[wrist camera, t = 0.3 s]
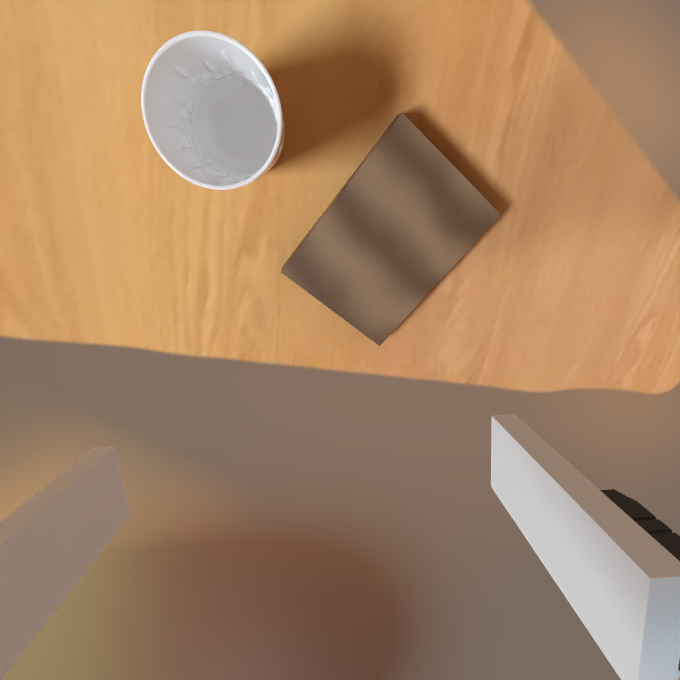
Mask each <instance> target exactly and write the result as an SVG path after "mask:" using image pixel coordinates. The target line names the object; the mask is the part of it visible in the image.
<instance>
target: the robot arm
mask: <svg viewBox="0 0 680 680" xmlns="http://www.w3.org/2000/svg"><path fill="white" fill-rule="evenodd" d="M491 443H492V444H491V449H492V450H491V487H492V488H493V490H494V491H495V493H496V494H497V496H498V497H499V498H500V500H501V502H502V503H503V505H504V506H505V508H506V509H507V511H508V512H509V514H510V515H511V517H512V518H513V520H514V521H515V523H516V524H517V526H518V527H519V528H520V530H521V531H522V533H523V534H524V536H525V537H526V539H527V540H528V542H529V543H530V545H531V546H532V548H533V549H534V551H535V552H536V554H537V555H538V557H539V558H540V560H541V561H542V563H543V564H544V566H545V567H546V568H547V570H548V572H549V573H550V575H551V576H552V578H553V579H554V580H555V582H556V583H557V585H558V586H559V588H560V589H561V591H562V592H563V594H564V595H565V597H566V598H567V600H568V601H569V603H570V604H571V606H572V607H573V609H574V610H575V612H576V613H577V615H578V616H579V617H580V619H581V621H582V622H583V624H584V625H585V626H586V628H587V629H588V631H589V632H590V634H591V635H592V637H593V638H594V640H595V641H596V643H597V644H598V646H599V647H600V648H601V650H602V652H603V653H604V655H605V656H606V658H607V659H608V661H609V662H610V664H611V665H612V667H613V668H614V669H615V671H616V672H617V674H618V675H619V677H620V678H621V680H679V674H680V536H679V535H677V534H676V533H672V531H671V529H670V528H669V527H668V526H666V525H665V524H664V523H662V522H661V521H660V520H657V519H656V518H655V516H654V515H653V514H651V513H650V512H649V511H648V510H647V509H646V508H644V507H643V506H642V505H641V504H639V503H638V502H637V501H635V500H633V499H631V498H629V497H627V496H625V495H623V494H621V493H619V492H617V491H616V490H613V489H612V490H599V489H598V488H597V487H595V486H594V485H593V484H592V483H591V482H590V481H589V480H587V479H586V478H585V477H584V476H583V475H582V474H581V473H580V472H578V470H576V469H575V468H574V467H573V466H572V465H571V464H569V463H568V462H567V461H566V460H565V459H564V458H563V457H562V456H561V455H560V454H558V453H557V452H556V451H555V450H554V449H553V448H552V447H551V446H549V445H548V444H547V443H546V442H545V441H544V440H543V439H541V438H540V437H539V436H538V435H537V434H536V433H535V432H534V431H533V430H531V429H530V428H529V427H528V426H527V425H526V424H525V423H524V422H522V421H521V420H520V419H519V418H518V417H517V416H516V415H515V414H507V415H495V416H492V442H491ZM130 516H131V513H130V509H129V505H128V501H127V497H126V492H125V488H124V484H123V480H122V475H121V471H120V467H119V463H118V459H117V455H116V450H115V447H114V446H112V447H100V448H92V449H91V450H90V451H89V452H87V453H86V454H85V455H84V456H82V457H81V458H80V459H78V460H77V461H76V462H75V463H73V464H72V465H71V466H70V467H68V468H67V469H66V470H65V471H63V472H62V473H61V474H60V475H58V476H57V477H56V478H54V479H53V480H52V481H51V482H49V483H48V484H47V485H46V486H44V487H43V488H42V489H41V490H39V491H38V492H37V493H36V494H34V495H33V496H32V497H31V498H29V499H28V500H27V501H26V502H24V503H23V504H22V505H21V506H19V507H18V508H17V509H16V510H14V511H13V512H12V513H11V514H9V515H8V516H7V517H5V518H4V519H3V520H2V521H1V522H0V680H2V678H3V677H4V676H5V675H6V673H7V672H8V671H9V669H10V668H11V667H12V666H13V664H14V663H15V662H16V661H17V659H18V658H19V657H20V656H21V654H22V653H23V652H24V650H25V649H26V648H27V647H28V645H29V644H30V643H31V642H32V640H33V639H34V638H35V636H36V635H37V634H38V633H39V631H40V630H41V629H42V628H43V626H44V625H45V624H46V622H47V621H48V620H49V619H50V617H51V616H52V615H53V614H54V612H55V611H56V610H57V608H58V607H59V606H60V604H61V603H62V602H63V601H64V600H65V598H66V597H67V596H68V594H69V593H70V592H71V591H72V589H73V588H74V587H75V586H76V584H77V583H78V582H79V580H80V579H81V578H82V577H83V575H84V574H85V573H86V572H87V570H88V569H89V568H90V567H91V565H92V564H93V563H94V561H95V560H96V559H97V558H98V556H99V555H100V554H101V553H102V551H103V550H104V549H105V547H106V546H107V545H108V544H109V542H110V541H111V540H112V539H113V537H114V536H115V535H116V533H117V532H118V531H119V530H120V528H121V527H122V526H123V525H124V523H125V522H126V521H127V519H128V518H129V517H130Z"/></svg>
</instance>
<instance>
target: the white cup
mask: <svg viewBox="0 0 680 680" xmlns="http://www.w3.org/2000/svg"><path fill="white" fill-rule="evenodd" d="M141 105H142V113H143V118H144V122H145V126H146V129H147V132H148V134H149V137H150V139H151V141H152V143H153V145H154V147H155V148H156V150H157V151H158V153H159V154H160V156H161V157H162V158H163V160H164V161H165V162H166V163H167V164H168V165H169V166H170V167H171V168H172V169H173V170H174V171H175V172H176V173H178V174H179V175H180V176H182V177H183V178H185V179H186V180H188V181H190V182H192V183H194V184H196V185H199V186H202V187H205V188H209V189H216V190H228V189H234V188H238V187H242V186H244V185H246V184H249V183H250V182H252V181H254V180H256V179H258V178H260V177H261V176H263V175H264V174H265V173H267V172H268V171H269V170H270V169H271V168H272V167H273V165H274V164H275V163H276V161H277V160H278V158H279V156H280V153H281V151H282V148H283V143H284V135H285V127H284V125H285V124H284V118H283V112H282V108H281V104H280V99H279V95H278V92H277V89H276V87H275V84H274V82H273V80H272V78H271V76H270V74H269V73H268V71H267V69H266V68H265V66H264V65H263V64H262V62H261V61H260V60H259V59H258V58H257V56H256V55H255V54H254V53H253V52H252V51H251V50H249V49H248V48H247V47H246V46H244V45H243V44H242V43H240V42H239V41H237V40H235V39H233V38H231V37H229V36H227V35H224V34H221V33H218V32H214V31H206V30H197V31H190V32H186V33H182V34H180V35H177V36H175V37H173V38H172V39H170V40H169V41H167V42H166V43H165V44H164V45H163V46H161V47H160V49H159V50H158V51H157V52H156V53H155V55H154V56H153V58H152V59H151V61H150V63H149V65H148V67H147V69H146V72H145V75H144V79H143V84H142V92H141Z"/></svg>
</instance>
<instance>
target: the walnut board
mask: <svg viewBox="0 0 680 680" xmlns="http://www.w3.org/2000/svg"><path fill="white" fill-rule="evenodd" d="M500 215H501V214H500V213H499V212H498V211H497V210H496V209H495V208H494V207H493V206H492V205H491V204H490V203H489V202H488V201H487V200H486V199H485V198H484V196H483V195H482V194H481V193H480V192H479V191H478V190H477V189H476V188H475V187H474V186H473V185H472V184H471V183H470V182H469V181H468V180H467V179H466V178H465V177H464V176H463V175H462V174H461V173H460V172H459V171H458V170H457V169H456V168H455V166H454V165H453V164H452V163H451V162H450V161H449V160H448V159H447V158H446V157H445V156H444V155H443V154H442V153H441V152H440V151H439V150H438V149H437V148H436V147H435V146H434V145H433V144H432V143H431V142H430V141H429V140H428V139H427V138H426V136H425V135H424V134H423V133H422V132H421V131H420V130H419V129H418V128H417V127H416V126H415V125H414V124H413V123H412V122H411V121H410V120H409V119H408V118H407V117H406V116H405V115H404V114H403V113H401V114H399V115H398V116H397V117H396V118H395V119H394V121H393V122H392V123H391V125H390V126H389V127H388V129H387V130H386V131H385V133H384V134H383V135H382V136H381V138H380V139H379V140H378V142H377V143H376V144H375V146H374V147H373V148H372V150H371V151H370V152H369V154H368V155H367V156H366V158H365V159H364V160H363V162H362V163H361V164H360V165H359V167H358V168H357V169H356V171H355V172H354V173H353V175H352V176H351V177H350V179H349V180H348V181H347V183H346V184H345V185H344V187H343V188H342V189H341V191H340V192H339V193H338V194H337V196H336V197H335V198H334V200H333V201H332V202H331V204H330V205H329V206H328V208H327V209H326V210H325V212H324V213H323V214H322V216H321V217H320V218H319V219H318V221H317V222H316V223H315V225H314V226H313V227H312V229H311V230H310V231H309V233H308V234H307V235H306V237H305V238H304V239H303V241H302V242H301V243H300V245H299V246H298V247H297V248H296V250H295V251H294V252H293V254H292V255H291V256H290V258H289V259H288V260H287V262H286V263H285V264H284V266H283V267H282V270H281V272H282V273H283V274H284V275H286V276H287V277H288V278H290V279H291V280H292V281H294V282H295V283H296V284H298V285H299V286H300V287H302V288H303V289H304V290H306V291H307V292H308V293H310V294H311V295H312V296H314V297H315V298H316V299H318V300H319V301H320V302H322V303H323V304H324V305H326V306H327V307H328V308H330V309H331V310H332V311H334V312H335V313H337V314H338V315H339V316H341V317H342V318H343V319H345V320H346V321H347V322H349V323H350V324H351V325H353V326H354V327H355V328H357V329H358V330H359V331H361V332H362V333H363V334H365V335H366V336H367V337H369V338H370V339H371V340H373V341H374V342H375V343H377V344H378V345H379V346H380V345H381V344H382V343H383V342H384V341H385V340H386V339H387V338H388V336H389V335H390V334H391V333H392V332H393V331H394V330H395V329H396V328H397V327H398V326H399V325H400V323H401V322H402V321H403V320H404V319H405V318H406V317H407V316H408V315H409V314H410V313H411V312H412V311H413V309H414V308H415V307H416V306H417V305H418V304H419V303H420V302H421V301H422V300H423V299H424V298H425V296H426V295H427V294H428V293H429V292H430V291H431V290H432V289H433V288H434V287H435V286H436V285H437V283H438V282H439V281H440V280H441V279H442V278H443V277H444V276H445V275H446V274H447V273H448V272H449V271H450V269H451V268H452V267H453V266H454V265H455V264H456V263H457V262H458V261H459V260H460V259H461V258H462V256H463V255H464V254H465V253H466V252H467V251H468V250H469V249H470V248H471V247H472V246H473V245H474V244H475V242H476V241H477V240H478V239H479V238H480V237H481V236H482V235H483V234H484V233H485V232H486V231H487V229H488V228H489V227H490V226H491V225H492V224H493V223H494V222H495V221H496V220H497V219H498V218H499V217H500Z"/></svg>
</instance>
